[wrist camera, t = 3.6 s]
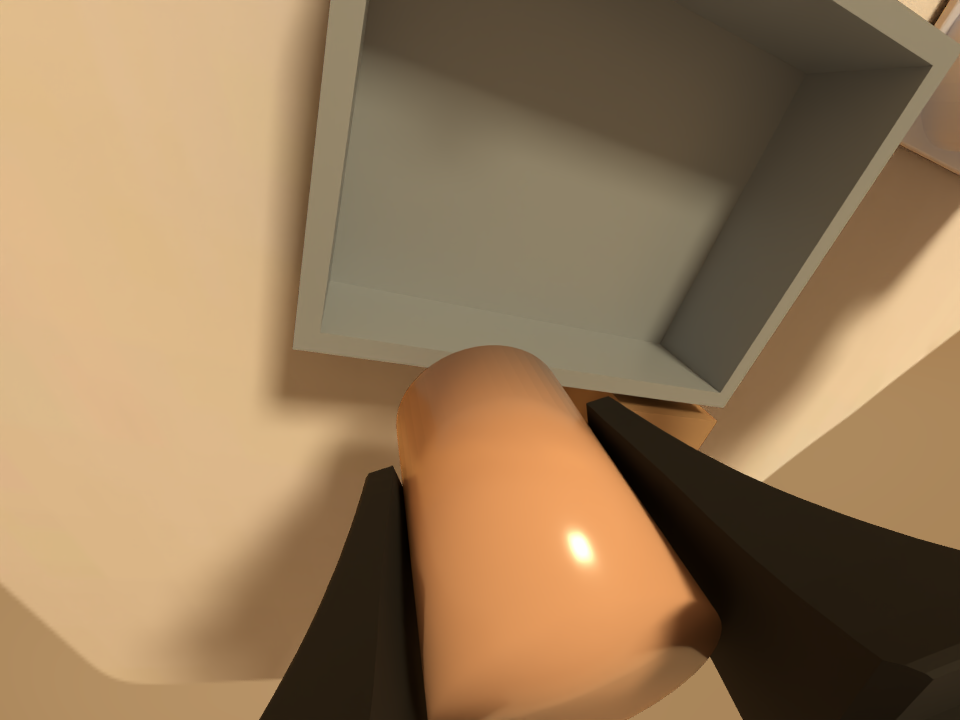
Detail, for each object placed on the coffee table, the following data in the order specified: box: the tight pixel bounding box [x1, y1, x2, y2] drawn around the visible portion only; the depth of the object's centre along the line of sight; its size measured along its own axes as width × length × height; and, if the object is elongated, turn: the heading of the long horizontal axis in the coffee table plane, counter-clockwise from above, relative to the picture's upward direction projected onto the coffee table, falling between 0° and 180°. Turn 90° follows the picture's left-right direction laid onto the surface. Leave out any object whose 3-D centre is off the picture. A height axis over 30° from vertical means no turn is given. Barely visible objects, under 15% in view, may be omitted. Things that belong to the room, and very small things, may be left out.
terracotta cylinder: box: [396, 345, 722, 720], centre depth 10 cm, size 5×5×7 cm
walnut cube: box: [562, 386, 717, 450], centre depth 21 cm, size 5×5×5 cm
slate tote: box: [293, 0, 960, 408], centre depth 15 cm, size 17×13×5 cm
